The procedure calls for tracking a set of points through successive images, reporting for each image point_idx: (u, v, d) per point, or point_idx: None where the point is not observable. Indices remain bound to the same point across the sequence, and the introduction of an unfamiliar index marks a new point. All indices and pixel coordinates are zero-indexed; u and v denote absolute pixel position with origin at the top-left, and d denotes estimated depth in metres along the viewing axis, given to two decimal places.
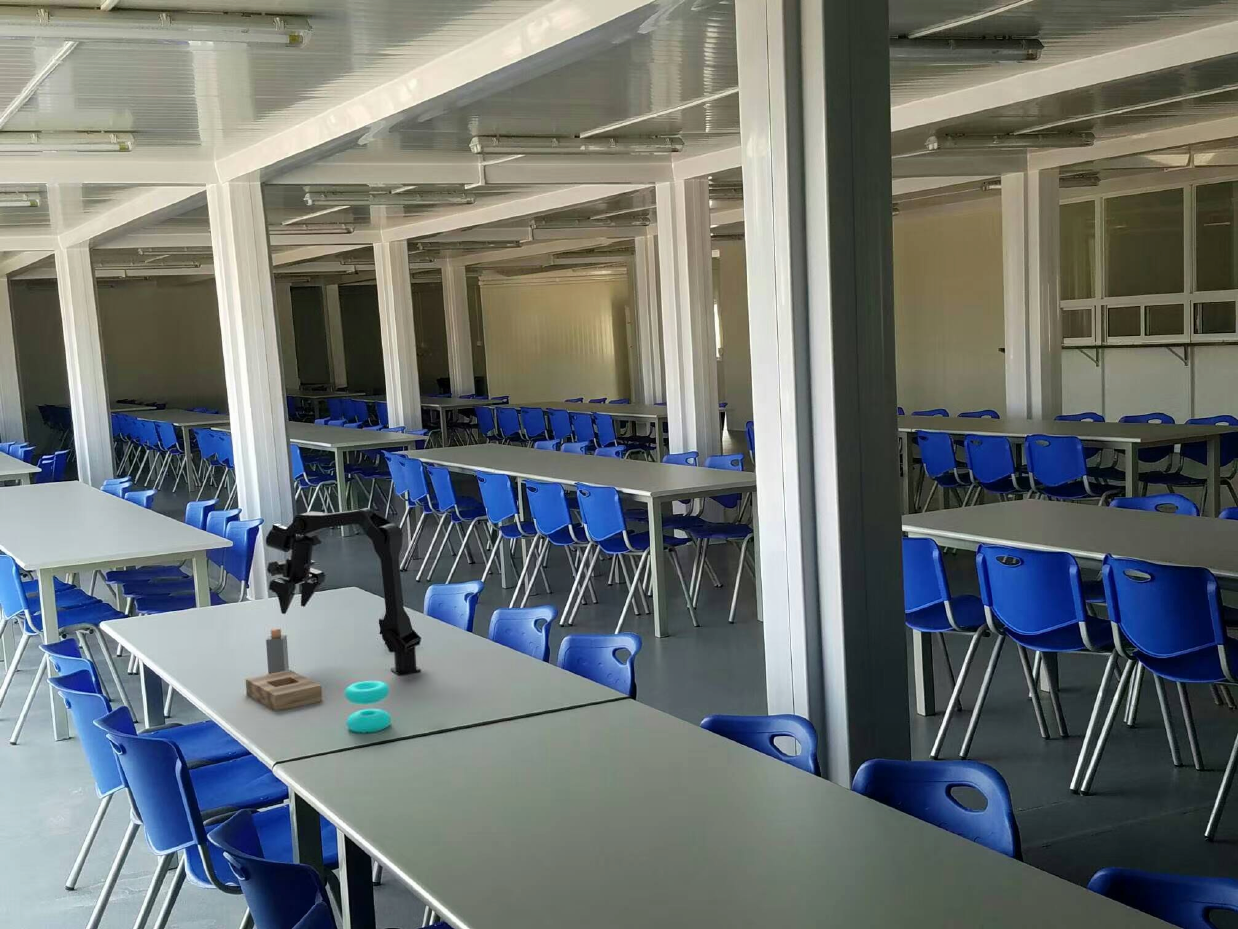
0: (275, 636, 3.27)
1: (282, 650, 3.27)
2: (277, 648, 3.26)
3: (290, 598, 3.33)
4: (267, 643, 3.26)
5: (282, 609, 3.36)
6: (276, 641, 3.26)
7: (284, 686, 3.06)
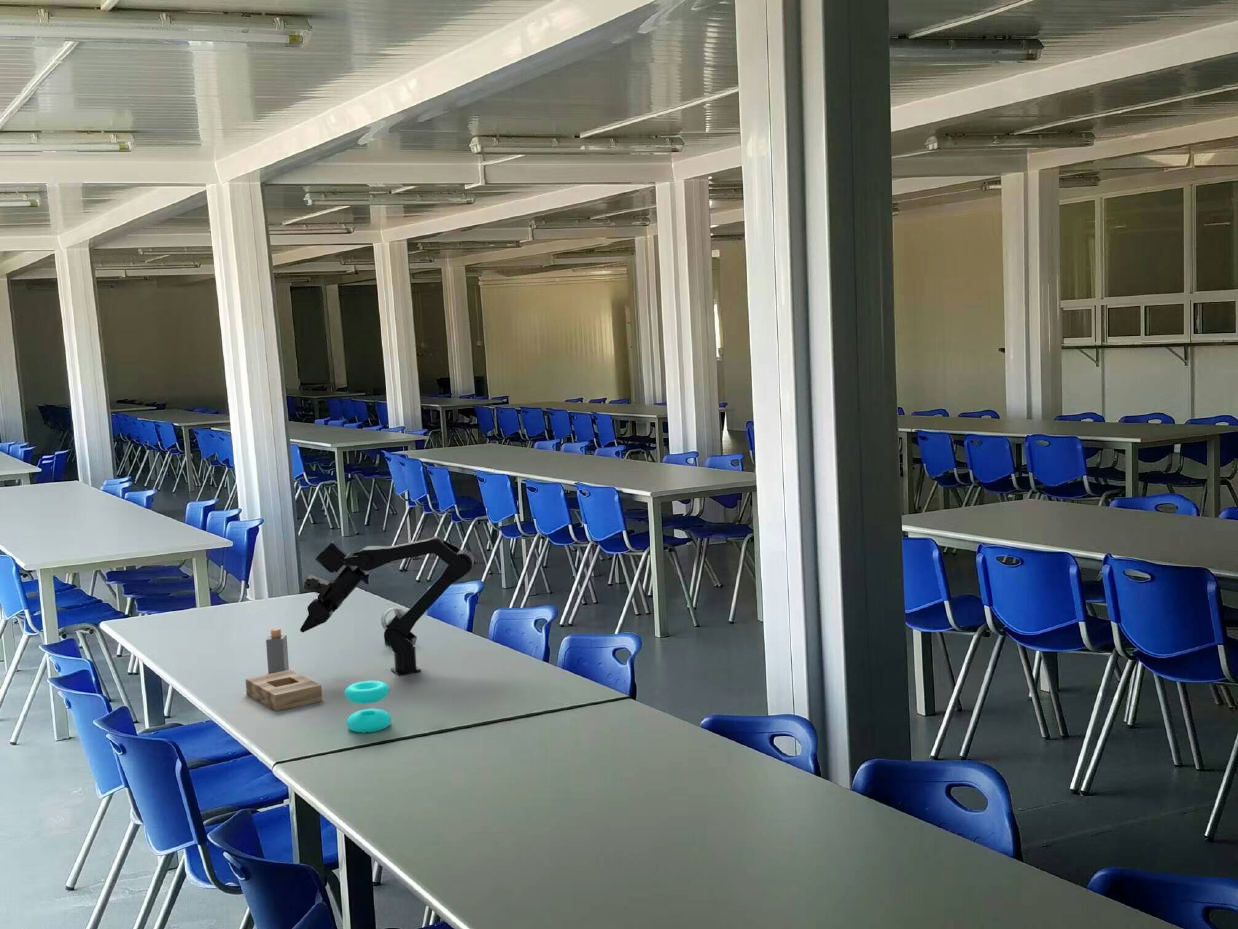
0: (275, 636, 3.27)
1: (282, 650, 3.27)
2: (277, 648, 3.26)
3: (321, 623, 3.22)
4: (267, 643, 3.26)
5: (303, 627, 3.23)
6: (276, 641, 3.26)
7: (284, 686, 3.06)
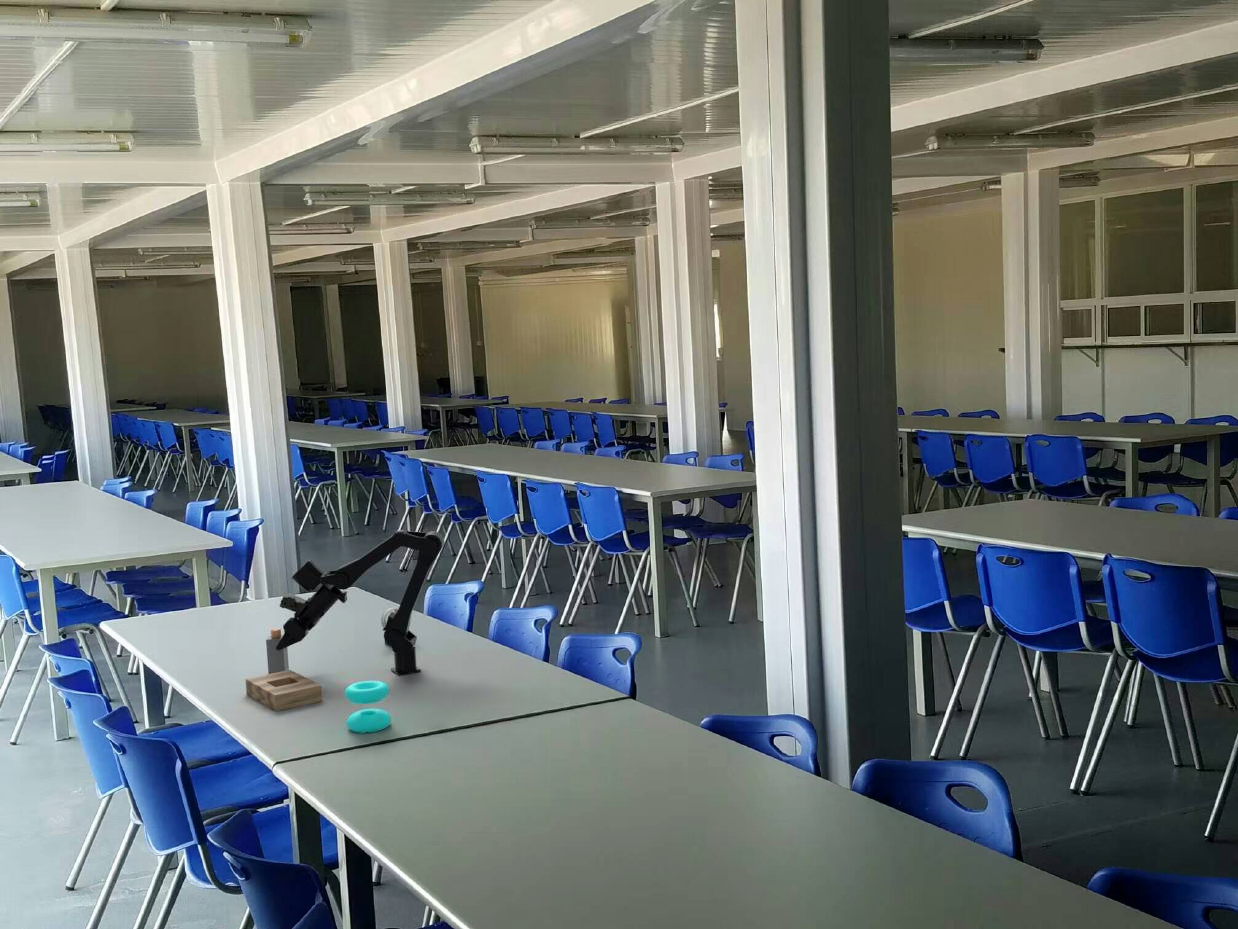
0: (275, 636, 3.27)
1: (282, 650, 3.27)
2: None
3: (296, 642, 3.22)
4: (267, 643, 3.26)
5: (279, 645, 3.23)
6: (276, 641, 3.26)
7: (284, 686, 3.06)
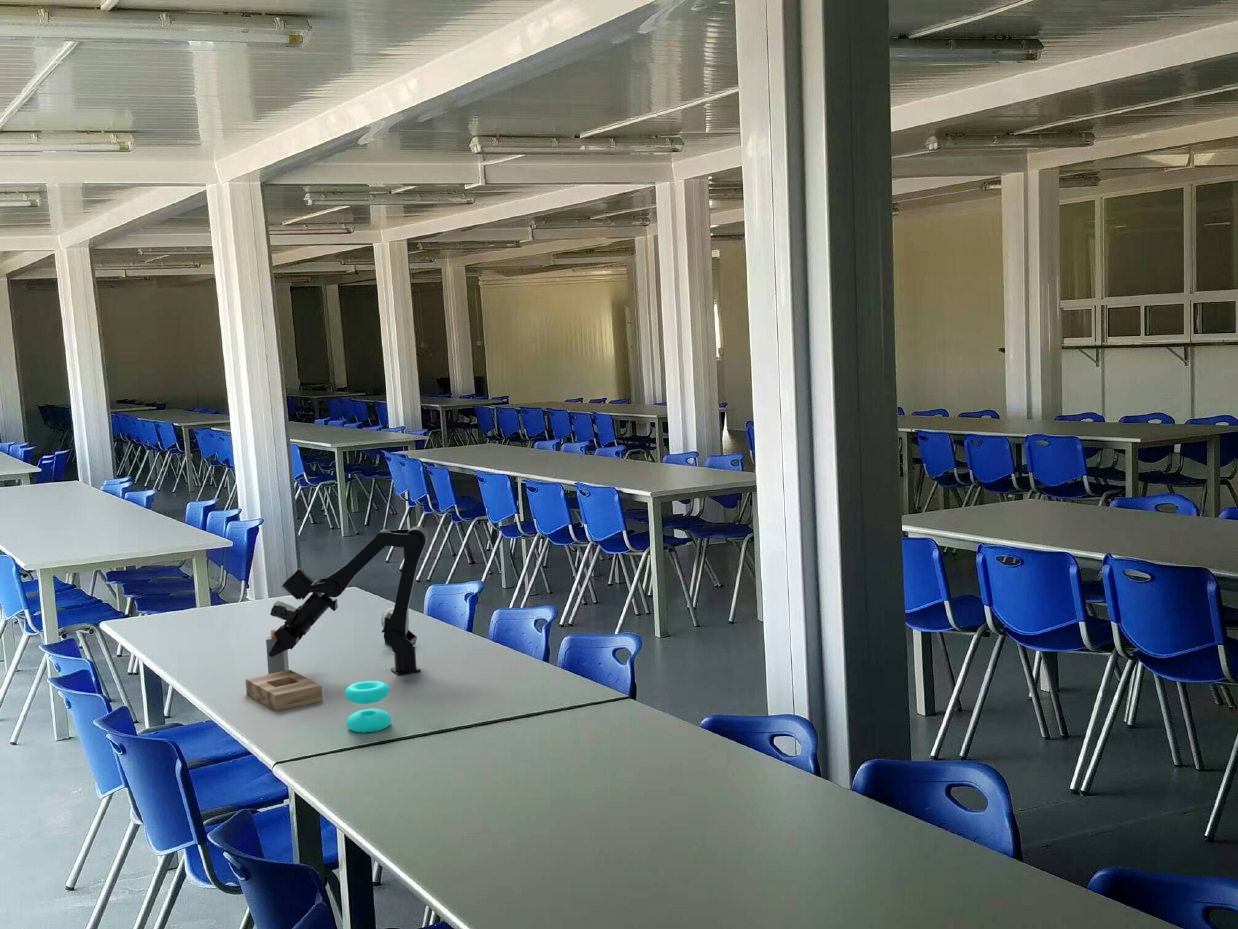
0: None
1: None
2: None
3: (289, 648, 3.25)
4: (267, 643, 3.26)
5: (272, 652, 3.26)
6: None
7: (284, 686, 3.06)
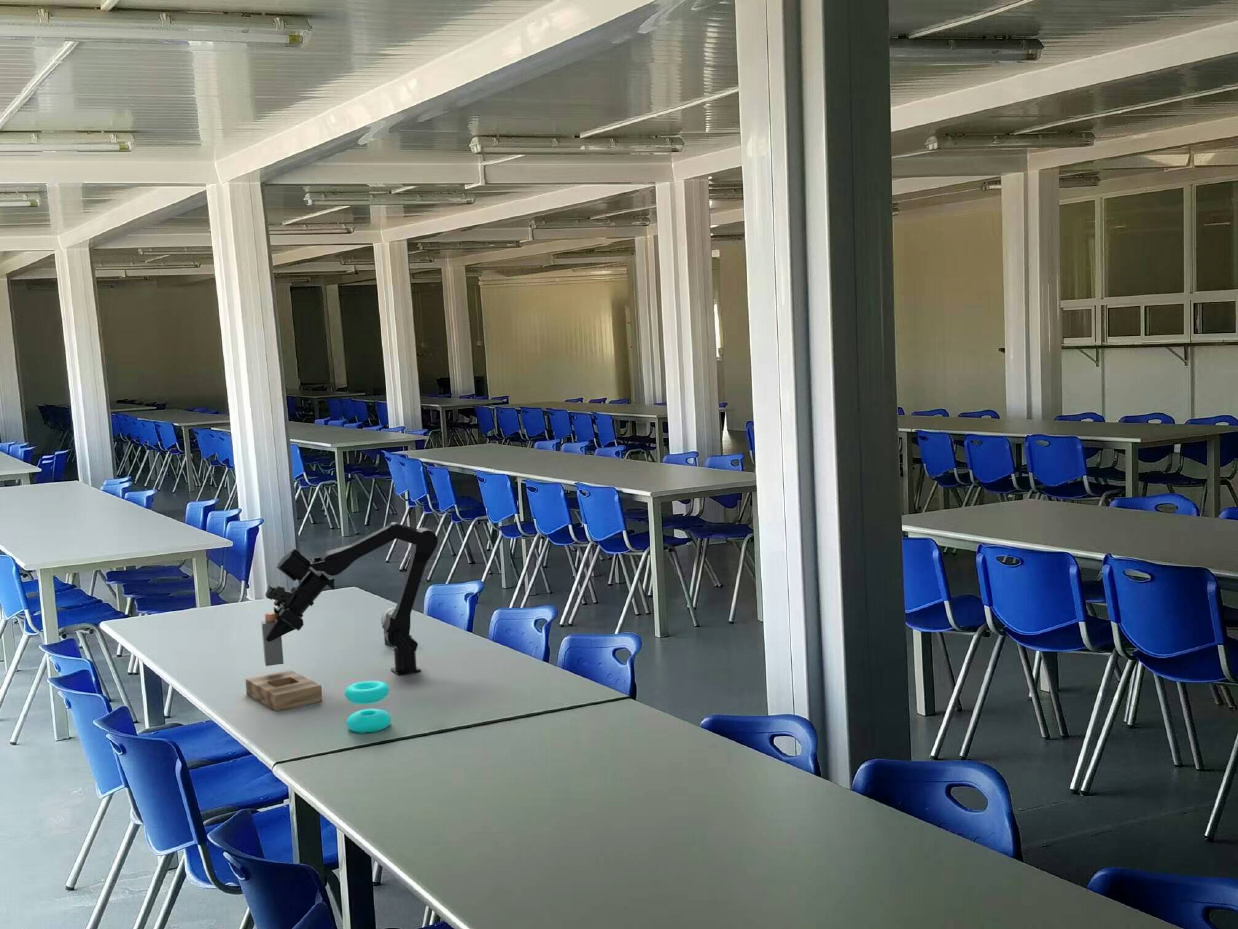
0: (271, 620, 3.16)
1: None
2: None
3: None
4: (264, 628, 3.14)
5: (270, 636, 3.14)
6: (274, 624, 3.15)
7: (284, 686, 3.06)
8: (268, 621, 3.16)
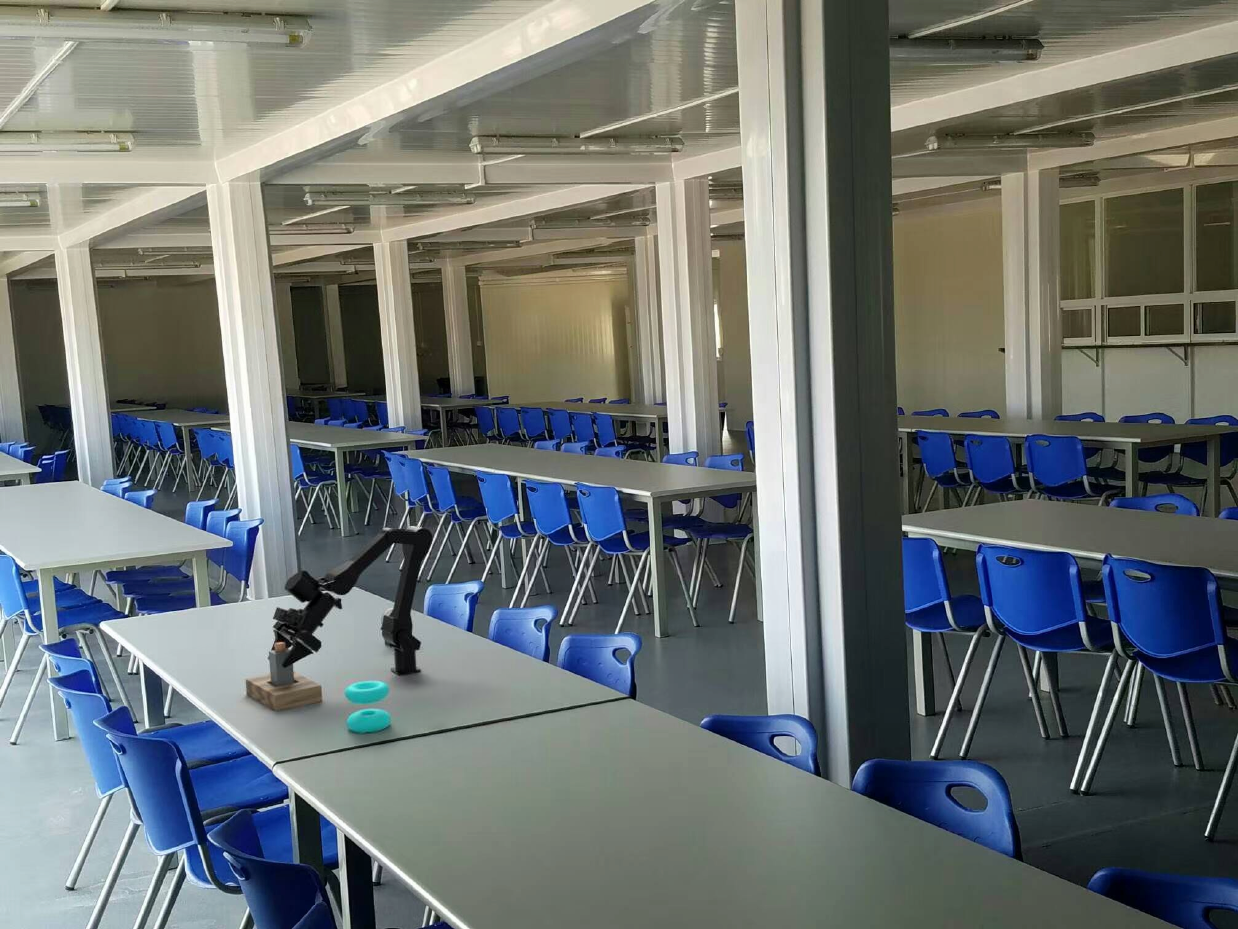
0: (282, 649, 3.08)
1: None
2: None
3: None
4: (276, 658, 3.06)
5: (287, 662, 3.05)
6: (286, 654, 3.08)
7: (284, 686, 3.06)
8: (279, 651, 3.08)
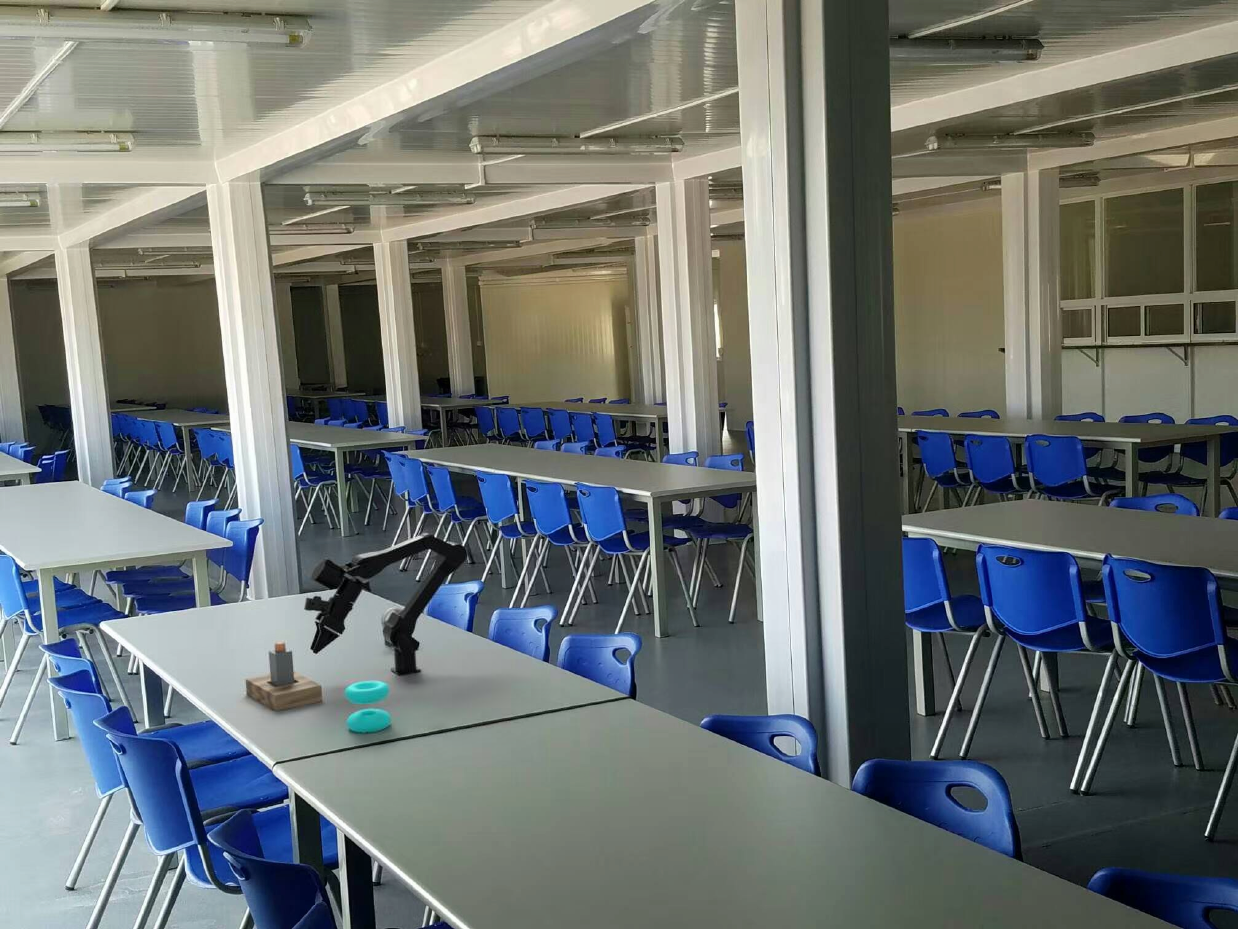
0: (282, 649, 3.08)
1: (291, 663, 3.09)
2: (287, 662, 3.08)
3: None
4: (276, 658, 3.06)
5: (317, 648, 3.13)
6: (286, 654, 3.08)
7: (284, 686, 3.06)
8: (279, 651, 3.08)
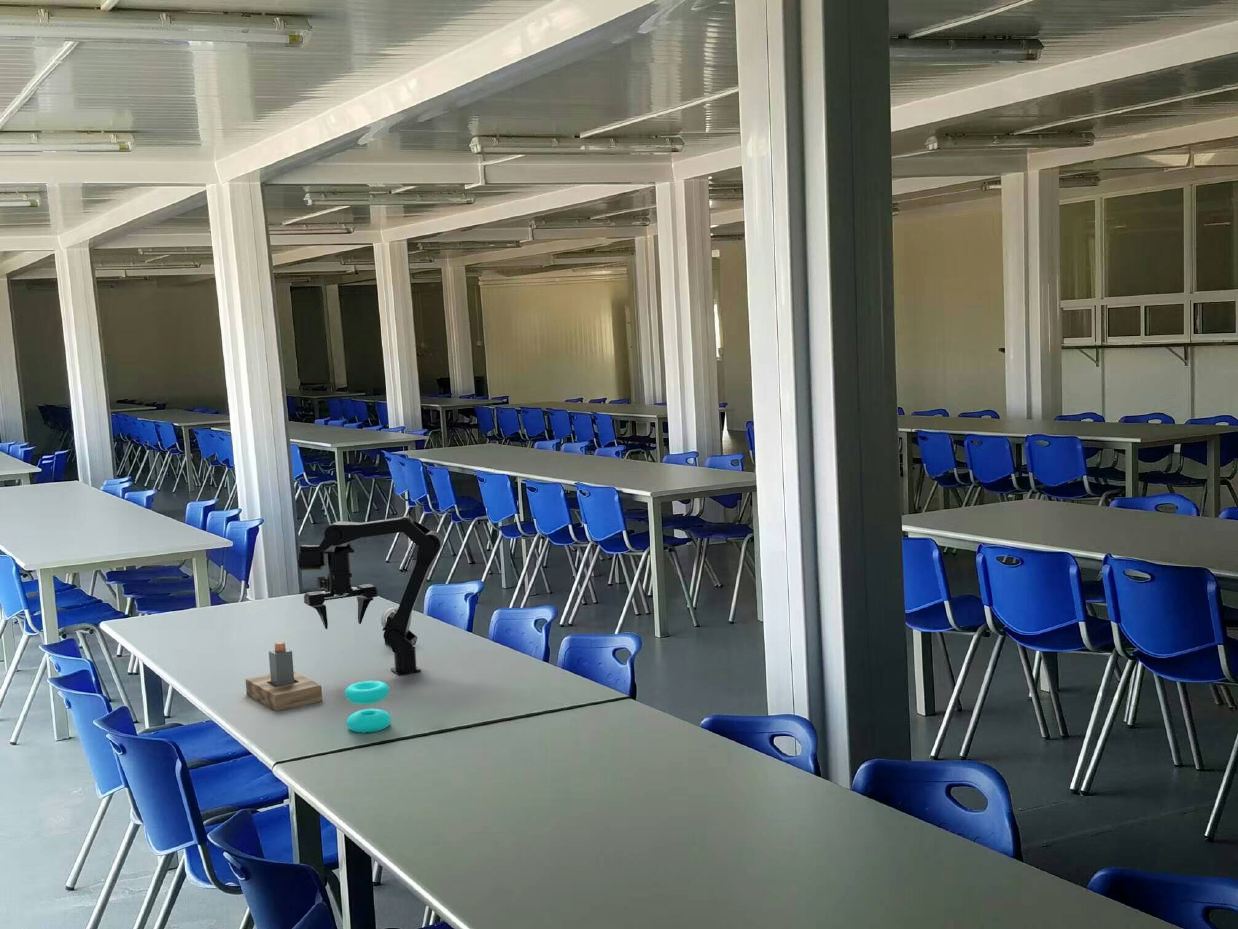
0: (282, 649, 3.08)
1: (291, 663, 3.09)
2: (287, 662, 3.08)
3: (321, 611, 3.23)
4: (276, 658, 3.06)
5: (323, 623, 3.27)
6: (286, 654, 3.08)
7: (284, 686, 3.06)
8: (279, 651, 3.08)
